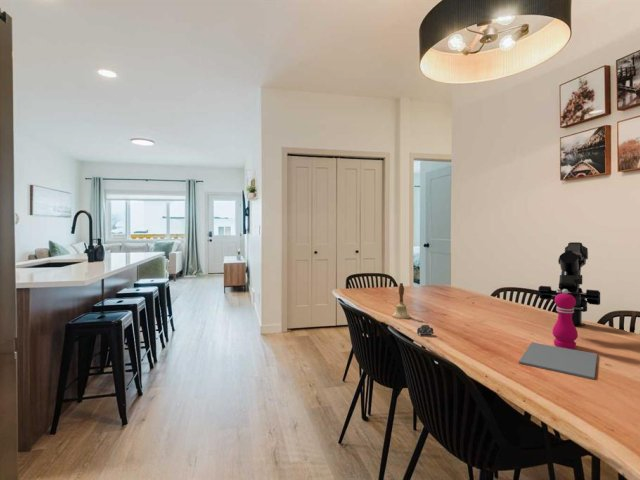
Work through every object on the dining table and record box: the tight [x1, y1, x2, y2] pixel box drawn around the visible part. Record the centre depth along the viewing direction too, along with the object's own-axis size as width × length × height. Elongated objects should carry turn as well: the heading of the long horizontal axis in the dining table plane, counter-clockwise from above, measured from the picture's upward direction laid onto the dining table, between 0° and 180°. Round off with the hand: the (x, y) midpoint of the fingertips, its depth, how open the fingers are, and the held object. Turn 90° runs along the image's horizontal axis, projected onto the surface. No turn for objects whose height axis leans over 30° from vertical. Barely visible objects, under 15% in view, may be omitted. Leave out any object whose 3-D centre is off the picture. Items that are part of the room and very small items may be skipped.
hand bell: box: [392, 282, 411, 319], centre depth 161 cm, size 8×8×16 cm
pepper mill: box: [551, 289, 579, 350], centre depth 118 cm, size 7×7×20 cm
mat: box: [518, 341, 598, 380], centre depth 107 cm, size 22×18×1 cm
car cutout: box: [416, 324, 435, 336], centre depth 133 cm, size 15×7×4 cm, turn 87°
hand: (566, 313), depth 124 cm, fingers closed
